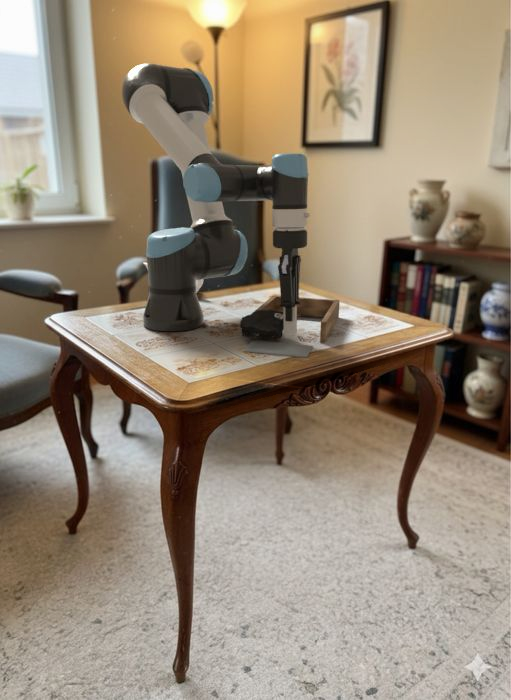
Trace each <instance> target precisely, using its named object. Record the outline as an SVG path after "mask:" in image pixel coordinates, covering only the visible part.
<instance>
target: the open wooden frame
mask: <svg viewBox="0 0 511 700" xmlns="http://www.w3.org/2000/svg"><path fill="white" fill-rule="evenodd" d="M297 301H300V305H297V321H307V322H318V323H320V333H319V334H320V335H319V336H320V337H319V343H320V344H326V342H327V341H328V339H329V337H330V335H331V333H332V331H333V330H334V327H335V325H336V324H337V322H338V320H339V316H340V299H327V298H314V297H312V298H311V297H300V296H299V300H297ZM280 304H281V295H271V297H269V298H268V299H267V300H266V301H265V302H263V304H261V305H260V306H259V307H258V308H257V309H255V310H254V311H253V312H252V313H254V312H255V311H257V310H275V311H278V312H284V308H283V307H280Z"/></svg>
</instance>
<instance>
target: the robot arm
mask: <svg viewBox="0 0 511 700" xmlns="http://www.w3.org/2000/svg"><path fill="white" fill-rule="evenodd" d="M121 99H122V101H123V105H124V107H125V109H126V111H127V112H128V113H129V114H130V116H131V117H132V119H133V120H134V121H135V122H137V123H139V124H141V125H144V127H145V128H146V129H147V130H148V131H149V133H150V134H151V136H153V138H154V139H155V140H156V141H157V143H158V144H159V145H160V146H161V147H162V149H163V150H164V151H165V153H166V154H167V155H168V156H169V158H170V159H171V160H172V161H173V162H174V164H175V165H176V166H177V168H179V170H180V171H181V175H182V176H181V177H182V182H183V183H182V184H183V188H184V191H185V195H186V198H187V202H188V208H189V211H190V215H191V216H190V217H191V220H192V223H191V225H190V227H175V228H167V229H162V230H161V229H160V230H157V231H154V232H153V233H150V234H149V235H148V237H147V239H146V249H145V250H146V251H145V255H146V263H147V267H148V270H147V281H148V283H147V284H148V296H147V301H146V303H145V304H146V305H145V308H144V311H143V317H142V319H143V321H142V322H143V326H144V327H145V328H146V329H149V330H153V331H158V332H182V331H190V330H194V329H197V328H199V327H202V326H203V325H204V323H205V322H204V321H205V320H204V313H203V309H202V307H201V304H200V301H199V298H198V295H197V293H196V280H200V279H204V280H205V279H206V280H207V279H214V278H226V277H228V276H232V275H236V274H238V273H239V272H240V271H242V269H243V268H244V267H245V264H246V261H247V258H248V253H249V251H248V250H249V249H248V242H247V239H246V236H245V235H244V234H243V232H241V231H239V230H238V229H235V228H234V223H233V219H231V218H230V217H228V216H227V215H226V214H225V210H224V209H225V208H224V205H223V202H252V201H253V202H258V201H272V210H271V211H272V213H271V214H272V220H271V221H272V222H271V223H272V228H274V230H273V231H272V247H274V248H275V249H281V256H279V263H278V265H277V269H278V274H279V275H278V276H279V292H280V296H281V304H280V307H283V308H284V329H283V335H291V336H295V335H297V333H298V332H297V330H298V324H297V323H298V322H297V321H298V320H297V316H298V315H297V305H300V301H297V300H299V297H300V292H299V291H300V276H301V275H300V273H301V262H302V258H301V255H299V249H303V248H306V247H307V246H308V231H307V229H305V228H306V227H307V226H308V218H310V217H311V213H309V212H308V181H309V171H308V159H307V156H306V155H305V153H300V152H296V153H295V152H294V153H293V152H289V153H287V152H285V153H276V154H274V155H273V156H272V157H271V164H270V165H269V164H267V165H266V164H263V165H262V164H261V165H253V164H252V165H248V164H247V165H245V164H242V165H241V164H240V165H239V164H222V163H221V162H220V161H219V160H218V159H217V158H216V157H215V156H214V155H213V154H212V152H211V147H210V143H209V139H208V134H207V130H206V125H207V124H208V122H209V120H210V117H209V116H210V115H211V113H212V111H213V108H214V105H213V102H214V92H213V87H212V85H211V83H210V81H209V79H208V77H207V76H206V75H204V73H202V72H200V71H197V70H195V69H194V70H193V69H191V68H189V67H183V68H182V67H174V66H168V65H164V64H163V65H162V64H156V63H149V62H148V63H142V64H139V65H136V66H135V67H132V69H130V71H129V72H128V73H126V76H125V77H124V80H123V82H122V87H121ZM147 267H146V268H147Z"/></svg>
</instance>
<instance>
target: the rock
mask: <svg viewBox="0 0 511 700" xmlns="http://www.w3.org/2000/svg"><path fill="white" fill-rule="evenodd" d="M254 311H255V310H254ZM254 311H253V312H254ZM253 312H251V313H250V314H247V315H245V316H242V318H241V320H240V324H239V328H240V329H241V334H242V335H241V336H242V337H245V338H247V339H248V338H249V339H250V338H252V339H263V340H281V339H282V338H283V335H284V312H278V311H275V310H257V311H255V312H254V313H253Z"/></svg>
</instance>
